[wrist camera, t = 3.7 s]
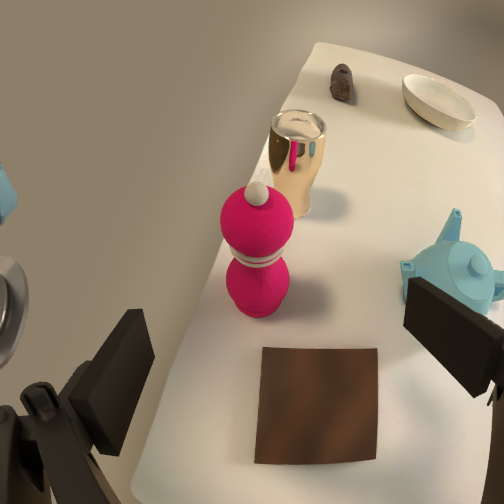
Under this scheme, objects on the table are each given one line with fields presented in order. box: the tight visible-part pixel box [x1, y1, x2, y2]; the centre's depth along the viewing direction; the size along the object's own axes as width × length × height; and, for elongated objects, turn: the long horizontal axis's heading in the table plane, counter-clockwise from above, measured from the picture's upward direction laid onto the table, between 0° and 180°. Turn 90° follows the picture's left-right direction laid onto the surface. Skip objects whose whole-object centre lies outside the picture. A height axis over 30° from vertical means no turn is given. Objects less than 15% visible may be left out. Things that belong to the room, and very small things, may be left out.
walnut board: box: [254, 347, 378, 465], centre depth 31 cm, size 14×14×1 cm
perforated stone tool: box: [330, 64, 353, 101], centre depth 61 cm, size 15×5×7 cm, turn 164°
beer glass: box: [269, 110, 326, 219], centre depth 39 cm, size 7×7×15 cm
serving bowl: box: [402, 74, 476, 131], centre depth 58 cm, size 21×21×7 cm
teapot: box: [400, 209, 504, 317], centre depth 32 cm, size 15×15×11 cm
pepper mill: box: [220, 182, 294, 317], centre depth 30 cm, size 7×7×20 cm
